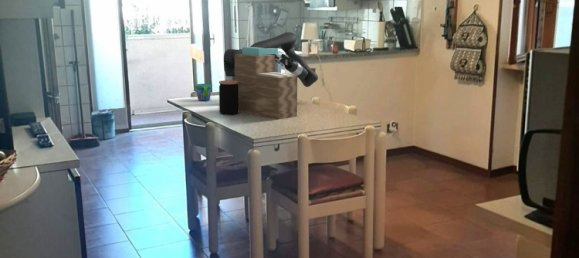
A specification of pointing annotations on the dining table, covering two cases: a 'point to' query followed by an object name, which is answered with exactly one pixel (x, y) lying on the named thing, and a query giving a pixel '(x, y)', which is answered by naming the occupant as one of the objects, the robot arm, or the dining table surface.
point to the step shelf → (265, 87)
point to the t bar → (258, 51)
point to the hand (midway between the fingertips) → (276, 54)
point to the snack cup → (203, 91)
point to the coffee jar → (228, 97)
